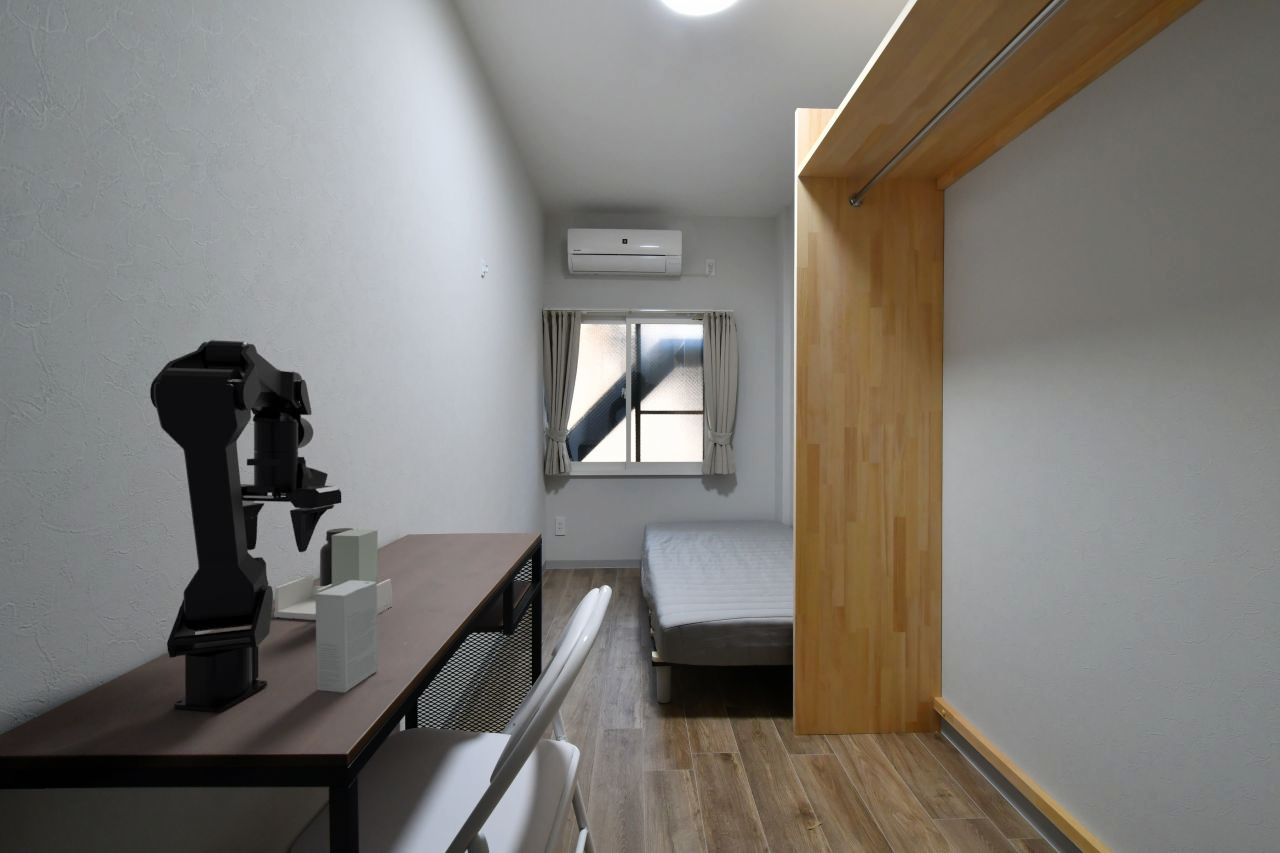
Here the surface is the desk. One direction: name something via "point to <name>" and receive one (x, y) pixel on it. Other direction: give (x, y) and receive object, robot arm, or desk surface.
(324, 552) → the supplement bottle
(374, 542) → the sage ceramic block
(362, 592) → the skincare box
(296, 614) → the tray
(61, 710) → the desk surface
